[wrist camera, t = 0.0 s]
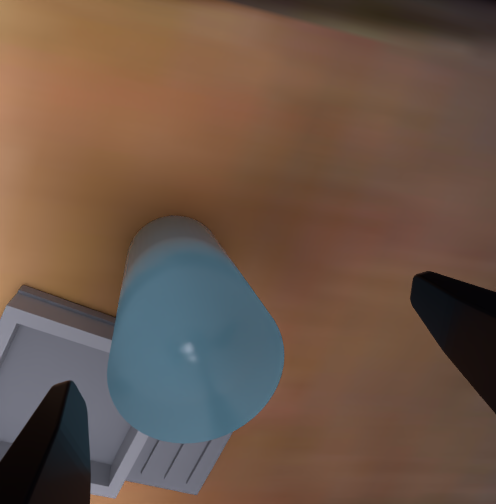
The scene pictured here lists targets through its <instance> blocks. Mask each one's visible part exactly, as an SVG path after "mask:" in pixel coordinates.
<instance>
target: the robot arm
mask: <svg viewBox="0 0 496 504" xmlns="http://www.w3.org/2000/svg"><path fill="white" fill-rule="evenodd" d="M410 300H411V304H412V306H413V308H414V309H415V311H416V312H417V314H418V315H419V317H420V318H421V319H422V321H423V322H424V324H425V325H426V327H427V328H428V330H429V331H430V333H431V334H432V336H433V337H434V339H435V340H436V342H437V343H438V344H439V346H440V347H441V349H442V350H443V351H444V353H445V354H446V355H447V356H448V358H449V359H450V360H451V361H452V362H453V364H454V365H455V366H456V367H457V368H458V370H459V371H460V372H461V373H462V374H463V376H464V377H465V378H466V379H467V380H468V382H469V383H470V384H471V385H472V386H473V387H474V389H475V390H476V391H477V392H478V393H479V395H480V396H481V397H482V398H483V399H484V401H485V402H486V403H487V404H488V405H489V407H490V408H491V409H492V410H493V411H494V413H495V414H496V292H494V291H491V290H488V289H484V288H481V287H478V286H475V285H472V284H469V283H466V282H463V281H459V280H456V279H453V278H450V277H447V276H444V275H441V274H437V273H434V272H431V271H426V272H423V273H419V274H416V275H415V276H414V278H413V281H412V288H411V295H410ZM90 491H91V461H90V445H89V428H88V412H87V406H86V402H85V400H84V398H83V397H82V395H81V393H80V391H79V390H78V388H77V386H76V384H75V383H74V382H73V381H72V380H68V381H64V382H61V383H58V384H55V385H53V386H52V387H51V388H50V390H49V391H48V393H47V394H46V395H45V397H44V398H43V400H42V401H41V403H40V404H39V406H38V407H37V409H36V410H35V411H34V413H33V414H32V416H31V417H30V419H29V420H28V422H27V423H26V425H25V426H24V427H23V429H22V430H21V432H20V433H19V435H18V436H17V438H16V439H15V441H14V442H13V443H12V445H11V446H10V448H9V449H8V451H7V452H6V454H5V455H4V457H3V458H2V459H1V461H0V504H90Z"/></svg>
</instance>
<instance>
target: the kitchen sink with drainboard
mask: <svg viewBox="0 0 496 504" xmlns="http://www.w3.org/2000/svg"><path fill="white" fill-rule="evenodd" d="M115 320H116V318H115V317H112V316H109V315H106V314H104V313H101V312H98V311H95V310H92V309H90V308H87V307H84V306H81V305H78V304H75V303H73V302H70V301H67V300H64V299H61V298H59V297H56V296H53V295H50V294H47V293H45V292H42V291H39V290H36V289H33V288H30V287H28V286H25V285H22V287H21V288H20V289H19V290H18V293H17V294H16V295H15V296H14V297H13V298H12V300H11V301H10V302H9V303H8V304H7V306H6V308H5V310H4V312H3V314H2V317H1V319H0V461H1V459H2V458H3V457H4V455H5V454H6V452H7V451H8V449H9V448H10V446H11V445H12V443H13V442H14V441H15V439H16V438H17V436H18V435H19V433H20V432H21V430H22V429H23V427H24V426H25V425H26V423H27V422H28V420H29V419H30V417H31V416H32V414H33V413H34V411H35V410H36V409H37V407H38V406H39V404H40V403H41V401H42V400H43V398H44V397H45V395H46V394H47V393H48V391H49V390H50V388H51V387H52V386H53V385H55V384H58V383H61V382H64V381H68V380H72V381H73V382H74V383H75V384H76V386H77V388H78V390H79V391H80V393H81V395H82V397H83V398H84V400H85V402H86V406H87V412H88V428H89V445H90V461H91V491H90V494H93V495H99V496H104V497H110V498H116V496H117V495H118V493H119V491H120V489H121V487H122V485H123V483H124V481H130V482H135V483H140V484H145V485H150V486H155V487H159V488H164V489H169V490H174V491H179V492H184V493H189V494H194V495H197V494H198V492H199V491H200V489H201V487H202V485H203V484H204V482H205V480H206V478H207V477H208V475H209V473H210V471H211V470H212V468H213V466H214V464H215V463H216V461H217V459H218V457H219V456H220V454H221V452H222V450H223V448H224V447H225V445H226V443H227V441H228V440H229V438H230V436H231V434H232V433H233V432H231V433H229V434H227V435H224V436H222V437H219V438H216V439H213V440H209V441H205V442H198V443H185V444H183V443H171V442H166V441H161V440H158V439H155V438H152V437H150V436H147V435H145V434H143V433H141V432H140V431H138V430H137V429H135V428H134V427H132V426H131V425H130V424H129V423H128V422H127V421H126V420H125V419H124V418H123V417H122V416H121V414H120V413H119V412H118V410H117V409H116V407H115V405H114V403H113V401H112V398H111V396H110V393H109V388H108V383H107V367H108V359H109V354H110V348H111V343H112V337H113V331H114V326H115Z"/></svg>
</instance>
